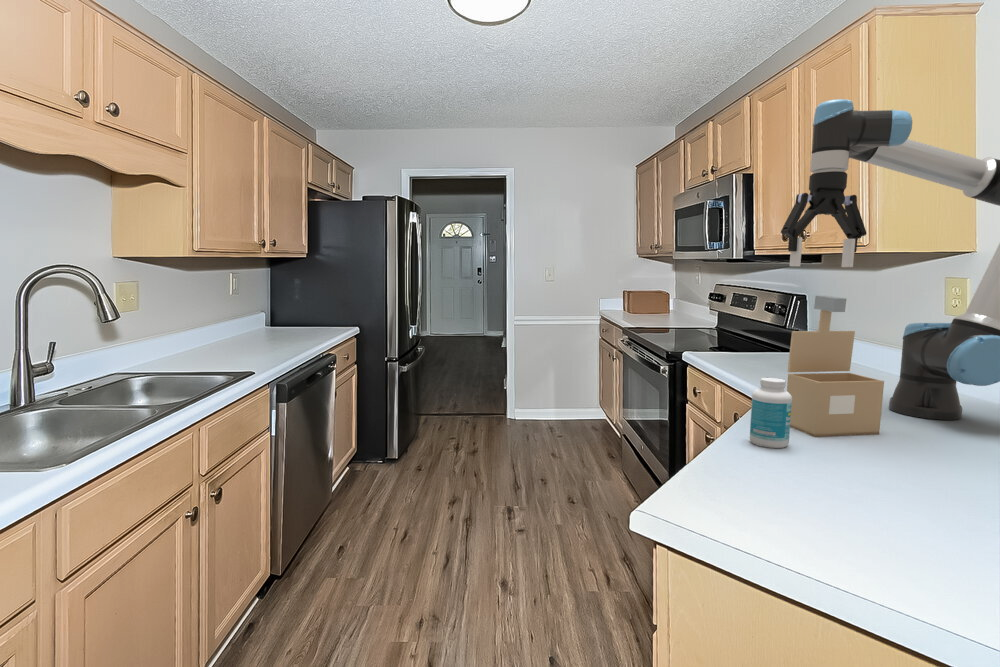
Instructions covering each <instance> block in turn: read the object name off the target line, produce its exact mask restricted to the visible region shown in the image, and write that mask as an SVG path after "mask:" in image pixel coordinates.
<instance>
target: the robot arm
mask: <svg viewBox="0 0 1000 667" xmlns="http://www.w3.org/2000/svg"><path fill="white" fill-rule="evenodd" d="M912 129H913V117H912V115H911V113H910V112H908V110H899V109H897V110H896V109H890V110H885V109H884V110H883V109H882V110H855V108H854V102H853V101H852V100H850V99H846V98H845V99H844V98H841V99H840V98H838V99H837V98H836V99H830V100H826V101H823V102H821V103H820V104H818V105H817V106H816V107H815V111H814V115H813V124H812V145H811V154H810V155H811V157H810V170H809V171H810V172H811V174H810V176H809V180H808V190H809V191H810V192H809V193H808V192H803V193H798V194H796V197H795V202H794V205H793V207H792V208H791V211H790V213H789V214H788V217H787V219H786V221H785V222H784V225H783V226H782V229H781V231H780V234H782V235H785V237H786V238H788V246H787V247H788V248H787V250H788V252H790V253H789V254H790V256H789V267H801V264H802V263H801V260H802V248H803V247H802V246H803V237H802V236H801V237H800V235H801V234H802V233H803V232H804V231H805V229H806V228H807V227H808V226H809V225H810V223H812V221H813V220H814V219H815V217H817V215H818V216H819V215H825V216H830V215H831V217H833V218H834V219H835V221H836V222H837V224H838V226H839V227H840V229H841V230H842V232H843V233H844V236H846V238H843V241H842V242H843V244H842V253H841V256H842V257H841V268H853V267H854V259H855V253H857V250H858V240H859V239H861V238H863V237H865V236H866V235H867V230H866V227H865V224H864V222H863V218H862V216H861V213H860V210H859V206H858V196H857V195H856V194H850V195H845V190H846V188H847V187H848V186H847V183H848V173H847V172H846V171H848V170H849V162H850V161H849V159H853V160H856V161H860V162H863V163H866V164H871V165H874V166H877V167H881V168H884V169H886V170H887V169H888V170H891V171H895V172H897V173H902V174H905V175H908V176H912V177H915V178H918V179H922V180H926V181H929V182H932V183H936V184H939V185H942V186H946V187H949V188H952V189H956V190H960V191H962V194H963V195H964V196H965V197H967V198H969V199H975V200H978V201H981V202H985V203H988V204H991V205H995V206H999V207H1000V159H997V158H993V157H985V158H982V159H979V158H977V157H973V156H970V155H969V156H968V155H965V154H962V153H959V152H955V151H953V150H949V149H944V148H941V147H938V146H933V145H930V144H927V143H923V142H920V141H916V140H913V139H909V137H910V135H911V133H912ZM807 204H809V206H808V207H807ZM806 207H807V209H806V210H805V208H806ZM804 210H805V211H804ZM803 212H804V214H803ZM802 214H803V215H802ZM901 348H902V350H901V360H900V372H899V380H898V383H897V385H896V386H895V388H894V391H893V393H892V396H891V397H890V398H889V403H888V409H889V410H890V411H892V412H895V413H898V414H902V415H905V416H910V417H916V418H923V419H930V420H941V421H945V420H946V421H947V420H948V421H949V420H950V421H952V420H953V421H954V420H961V418H963V406H962V405H961V402H960V398H959V397H960V396H959V393H958V388H957V382H958V383H961V384H963V385H966V386H967V385H969V386H971V385H972V386H976V387H986V386H992V385H994V384H998V383H1000V242H999V243H998V245H997V247H996V249H995V251H994V254H993V256H992V257H991V260H990V262H989V263H988V266H987V268H986V270H985V272H984V274H983V276H982V278H981V280H980V282H979V284H978V286H977V287H976V290H975V293H973V296H972V299H971V301H970V302H969V304H968V307H967V308H966V310H965V312H964V313H963V314H960V315H958V316H955V317H953V319H952V321H951V322H914V323H913V322H912V323H909V324H907V325H906V326H905V328H904V332H903V335H902V347H901Z"/></svg>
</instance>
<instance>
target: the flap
mask: <svg viewBox="0 0 1000 667" xmlns="http://www.w3.org/2000/svg"><path fill="white" fill-rule="evenodd" d="M846 304H847V298H844V297H838V296H833V295H831V296H830V295H815V296H814V305H813V309H816V310H820V312H819V321H818V330H812V331H811V330H798V331H797V330H796V331H795V330H793V331H791V337H790V347H789V355H788V363H787V364H788V366H787V373H836V372H851V365H852V357H853V349H854V343H855V342H854V341H855V335H856V334H855V333H856V331H855V330H830V328H831V322H832V321H831V320H832V313H846Z"/></svg>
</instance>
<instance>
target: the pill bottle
mask: <svg viewBox="0 0 1000 667" xmlns="http://www.w3.org/2000/svg"><path fill="white" fill-rule="evenodd" d="M786 381H787V380H785V379H781V378H775V377H761V378H760V381H759V382H760V383H759V384H760V386H761V387H760V388H756V389H755V390H753V392H752V394H751V406H750V407H751V408H750V410H751V411H750V424H749V425H750V426H749V440H750V442H751V443H752V444H754V445H757V446H760V447H762V448H763V447H764V448H769V449H771V448H772V449H782V448H786V447H788V445H789V443H790V432H791V430H790V429H791V427H790V420H791V407H792V396H791V395H790V393H788V392H787V390H785V387H787V385H786Z"/></svg>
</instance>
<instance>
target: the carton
mask: <svg viewBox="0 0 1000 667" xmlns="http://www.w3.org/2000/svg"><path fill="white" fill-rule="evenodd" d="M884 388H885V380H883V379H882V380H880V379H877V378H873V377H869V376H865V375H860V374H856V373H853V372H809V373H787V385H786V391H787V392H788V393H790V395H791V396H792V407H791V420H790V429H794V430H796V431H799V432H801V433H804V434H806V435H808V436H811V437H813V438H827V437H831V438H833V437H849V436H850V437H853V436H855V437H856V436H876V435H877V436H879V435H880V431H881V419H882V409H883V408H882V407H883V400H884Z"/></svg>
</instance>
